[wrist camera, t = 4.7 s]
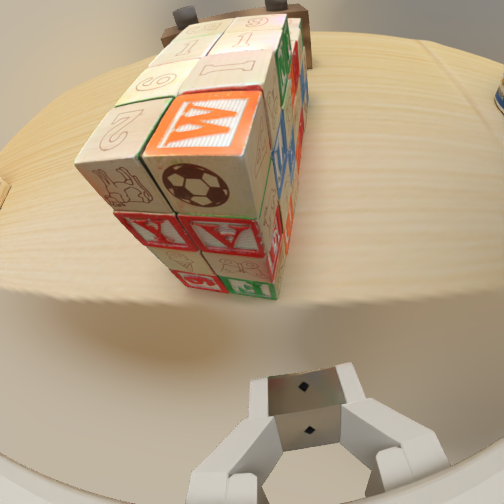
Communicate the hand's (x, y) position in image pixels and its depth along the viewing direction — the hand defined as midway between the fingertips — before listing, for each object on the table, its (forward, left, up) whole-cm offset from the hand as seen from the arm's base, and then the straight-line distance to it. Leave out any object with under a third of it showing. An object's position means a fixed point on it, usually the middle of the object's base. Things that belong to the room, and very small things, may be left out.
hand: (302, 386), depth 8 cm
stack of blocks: (0, -16, -8) cm, 18 cm away
